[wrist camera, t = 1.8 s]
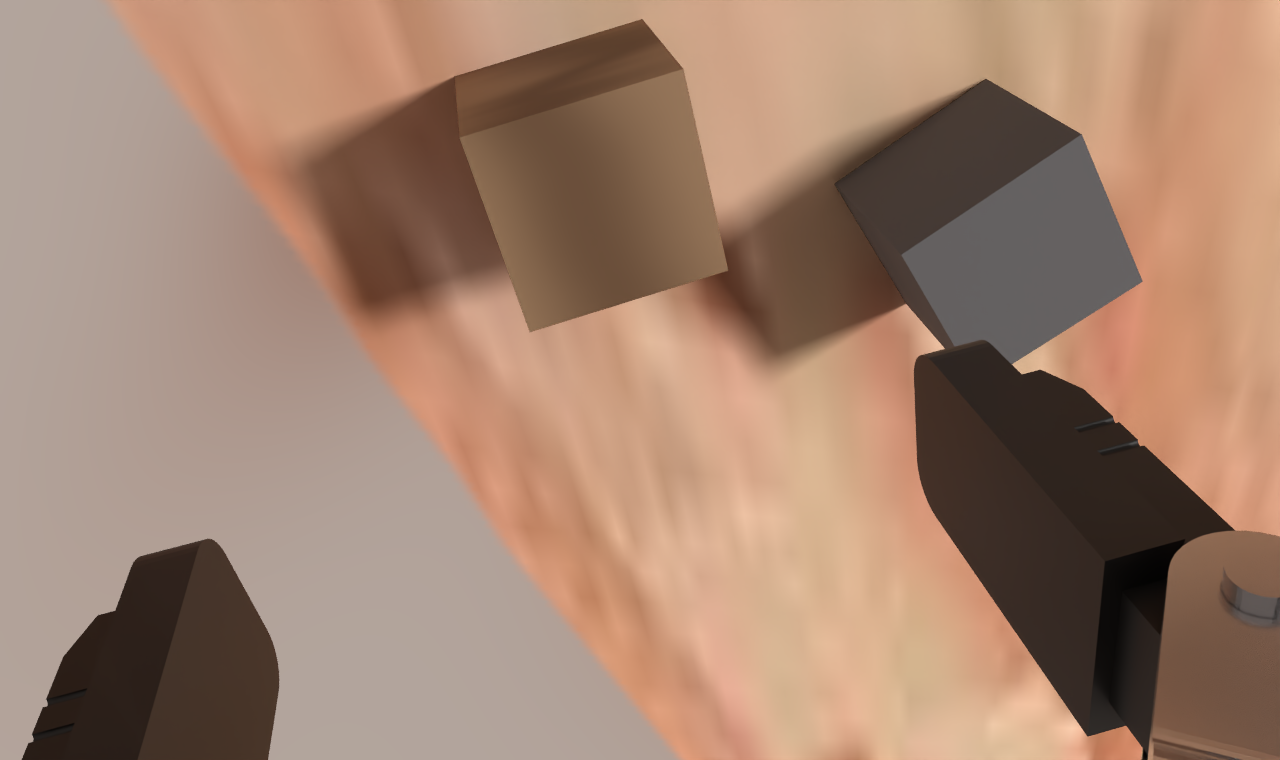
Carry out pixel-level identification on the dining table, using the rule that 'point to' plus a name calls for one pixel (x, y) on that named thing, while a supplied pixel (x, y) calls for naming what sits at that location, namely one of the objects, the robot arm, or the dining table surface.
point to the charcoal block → (992, 223)
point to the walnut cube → (590, 173)
